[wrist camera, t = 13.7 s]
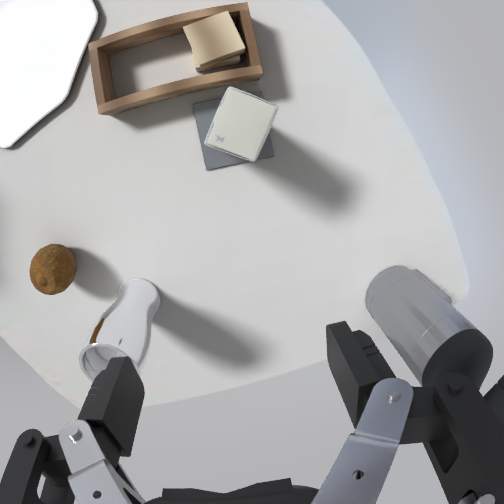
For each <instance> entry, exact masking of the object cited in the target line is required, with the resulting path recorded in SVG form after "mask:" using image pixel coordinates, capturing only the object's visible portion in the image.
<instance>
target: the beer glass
mask: <svg viewBox="0 0 504 504" xmlns="http://www.w3.org/2000/svg"><path fill="white" fill-rule="evenodd" d="M159 305H160V295H159V292H158V290H157V289H156V287H155V286H154V285H153V284H152V283H150V282H149V281H147V280H145V279H141V278H131V279H128V280H126V281H125V282H124V283H123V284H122V285H121V286H120V288H119V291H118V295H117V299H116V301H115V302H114V303H113V304H112V305H111V306H110V307H109V308H108V309H107V310H106V311H105V312H104V313H103V314H102V315H101V316H100V317H99V318H98V319H97V321H96V322H95V324H94V325H93V327H92V329H91V330H90V332H89V334H88V337H87V339H86V341H85V344H84V346H83V349H82V351H81V353H80V356H79V362H80V366H81V369H82V371H83V372H84V374H85V375H86V376H87V377H88V378H89V379H90V380H91V381H92V382H93V381H94V379H95V377H96V376H97V375H98V374H99V373H100V372H101V371H102V370H106V367H107V365H108V363H109V360H110V359H111V358H113V357H125V356H128V357H130V359H131V360H132V362H133V364H134V366H135V369H136V371H137V373H138V375H139V377H140V376H141V374H142V371H143V369H144V366H145V364H146V361H147V358H148V354H149V350H150V345H151V328H152V317H153V315H154V314H155V313H156V311H157V310H158V308H159Z"/></svg>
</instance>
